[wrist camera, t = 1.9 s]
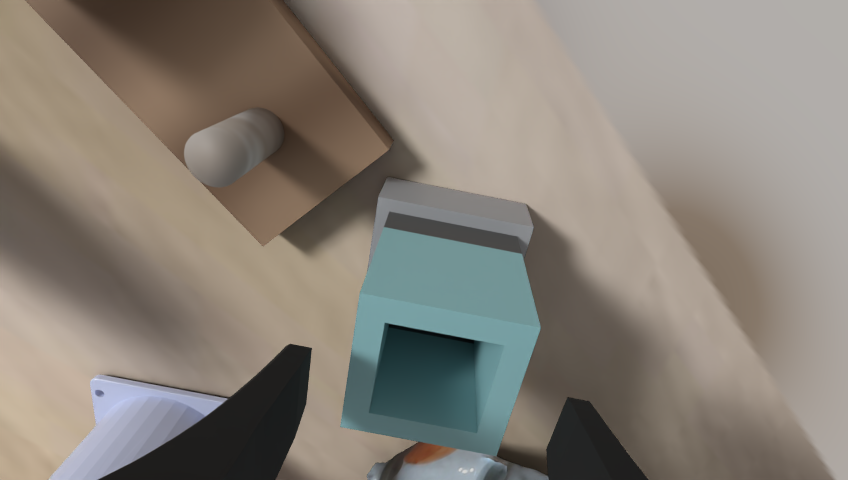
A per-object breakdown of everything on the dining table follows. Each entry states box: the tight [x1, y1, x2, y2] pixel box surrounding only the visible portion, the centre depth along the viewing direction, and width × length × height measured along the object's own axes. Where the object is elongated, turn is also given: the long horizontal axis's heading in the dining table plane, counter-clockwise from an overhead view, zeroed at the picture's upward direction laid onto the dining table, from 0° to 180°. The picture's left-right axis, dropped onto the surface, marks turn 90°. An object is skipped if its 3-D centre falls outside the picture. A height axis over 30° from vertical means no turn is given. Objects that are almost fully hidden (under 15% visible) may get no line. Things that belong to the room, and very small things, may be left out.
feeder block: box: [367, 177, 534, 272], centre depth 21 cm, size 6×6×2 cm
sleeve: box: [340, 211, 541, 456], centre depth 17 cm, size 5×5×6 cm
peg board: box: [25, 0, 394, 246], centre depth 15 cm, size 18×7×8 cm, turn 38°
